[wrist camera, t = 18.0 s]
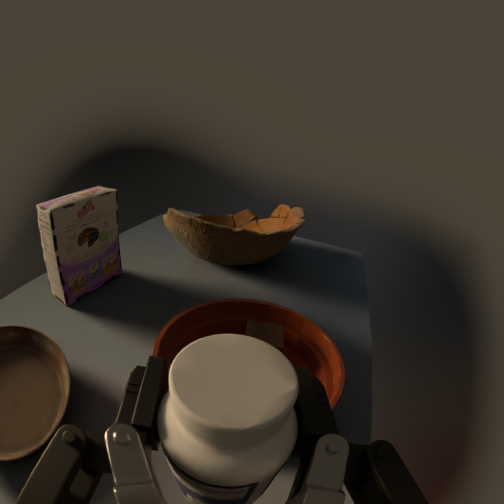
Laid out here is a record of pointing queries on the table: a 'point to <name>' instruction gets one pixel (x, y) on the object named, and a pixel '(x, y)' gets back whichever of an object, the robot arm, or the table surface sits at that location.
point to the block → (266, 333)
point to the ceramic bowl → (235, 234)
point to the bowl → (235, 322)
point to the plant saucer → (30, 390)
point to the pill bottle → (228, 418)
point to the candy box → (80, 241)
